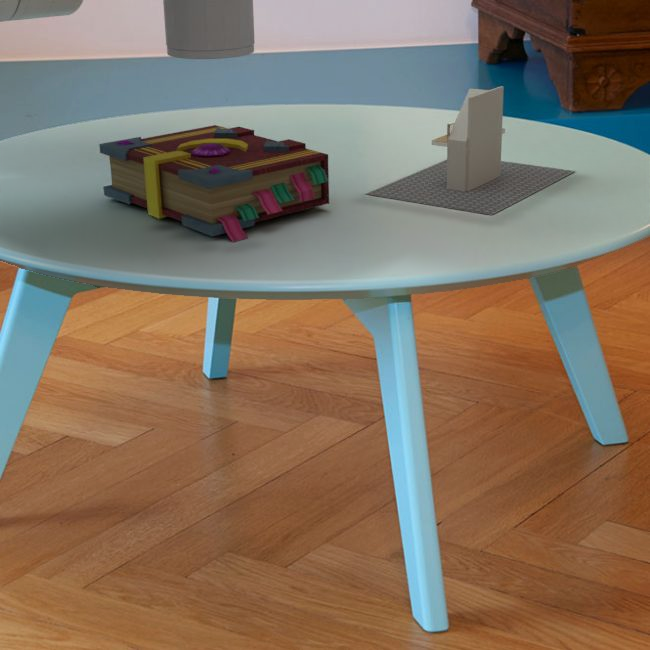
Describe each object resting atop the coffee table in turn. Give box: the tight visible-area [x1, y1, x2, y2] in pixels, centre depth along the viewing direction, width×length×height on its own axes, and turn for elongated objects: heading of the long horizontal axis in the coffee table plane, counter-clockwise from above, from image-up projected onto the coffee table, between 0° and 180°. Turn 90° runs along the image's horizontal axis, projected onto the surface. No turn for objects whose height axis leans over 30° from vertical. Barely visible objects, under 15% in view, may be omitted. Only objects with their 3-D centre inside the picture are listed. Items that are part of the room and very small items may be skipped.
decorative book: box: [98, 124, 330, 243], centre depth 87 cm, size 11×16×5 cm
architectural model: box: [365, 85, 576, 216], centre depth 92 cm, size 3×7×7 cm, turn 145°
